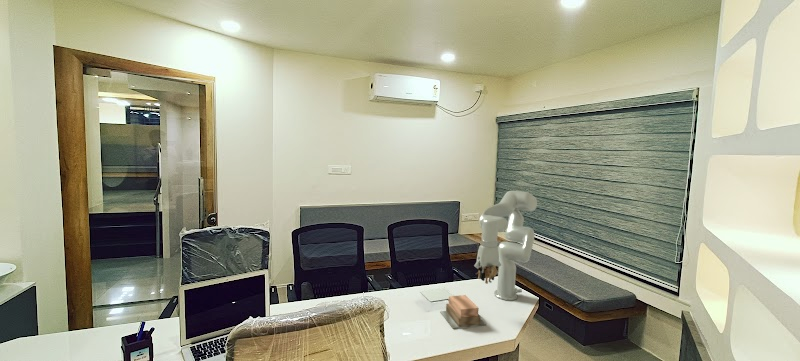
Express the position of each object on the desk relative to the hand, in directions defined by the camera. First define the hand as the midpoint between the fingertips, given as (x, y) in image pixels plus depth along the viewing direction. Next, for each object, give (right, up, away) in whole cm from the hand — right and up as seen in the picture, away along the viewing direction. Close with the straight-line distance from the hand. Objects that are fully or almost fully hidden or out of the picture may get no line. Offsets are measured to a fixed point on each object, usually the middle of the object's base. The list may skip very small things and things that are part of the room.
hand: (487, 279), depth 161 cm
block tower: (-13, -19, -2) cm, 23 cm away
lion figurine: (0, -1, +1) cm, 2 cm away
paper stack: (-24, -17, +18) cm, 35 cm away
